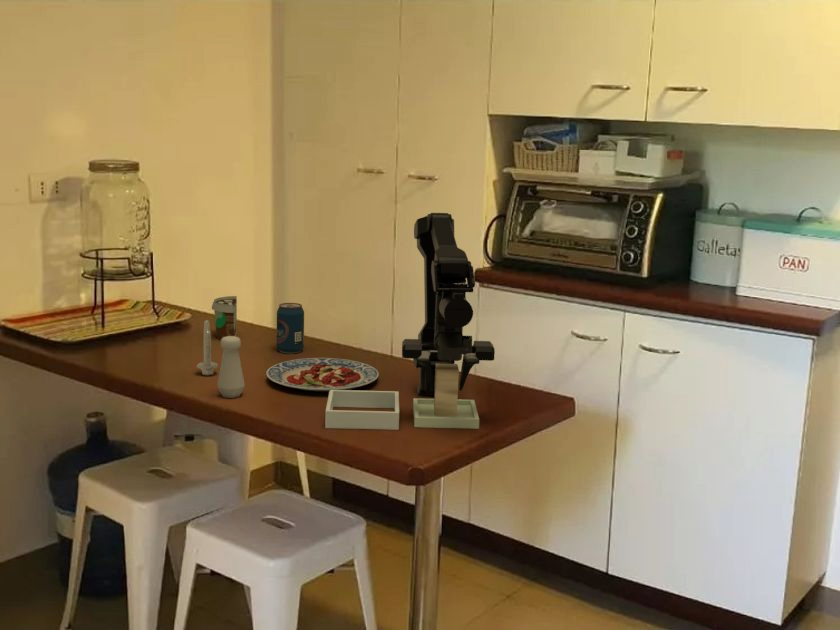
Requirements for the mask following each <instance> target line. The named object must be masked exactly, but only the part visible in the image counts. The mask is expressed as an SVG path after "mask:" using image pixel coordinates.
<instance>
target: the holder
mask: <svg viewBox="0 0 840 630" xmlns="http://www.w3.org/2000/svg"><path fill="white" fill-rule="evenodd" d="M399 393H400V392H399V391H394V390H391V391H390V390H384V391H383V390H359V389H358V390H355V389H354V390H352V389H344V390H330V391H328V396H327V397H328V398H327V403H326V406H325V407H326V408H325V420H324V421H325V424H324V425H325V426H324V428H325V429H346V430H347V429H349V430H351V429H353V430H387V431H388V430H391V431H393V430H397V431H399V429H400V397H399ZM335 407H336V408H362V409H364V408H365V409H366V408H367V409H368V408H369V409H370V408H371V409H393V410H394V411H384V410H383V411H380V410H379V411H378V410H348V409H347V410H346V409H345V410H341V409H339V410H338V409H337V410H336V409H334V408H335Z"/></svg>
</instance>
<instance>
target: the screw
mask: <svg viewBox="0 0 840 630" xmlns="http://www.w3.org/2000/svg"><path fill="white" fill-rule="evenodd" d="M210 324H211V323H210V320H208V319H206V320H204V322H203V332H202V333H203V343H202V344H203V361H202V362H201V361H200V362H199V363H197V364H196V368H197V369H200V370H201V374H202V376H211V375H214V370H215V369H217V368H218V367H219V364H218V363H217V362H214V361H212V350H211V349H212V340H211V339H212V333H211V325H210Z"/></svg>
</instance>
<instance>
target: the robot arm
mask: <svg viewBox="0 0 840 630" xmlns="http://www.w3.org/2000/svg"><path fill="white" fill-rule="evenodd" d="M413 238H414V240H416V248H417V250H418V252H419V253H420V254H421V256H422V257H423V263H424V265H423V270H424V271H423V273H424V275H423V276H424V277H423V278H424V281H423V283H424V324H423V326H422V327H421V329H420V330H419V332H418V335H417V338H405V339H404V340H402V342H401V358H402V359H413V360H412V361H413V365H414V367H415V369H419V384H417V385H416V387H417V388H416V389H417V396H418V395H419V396H434V393H435V368H436V363H437V364H456V363H455V362H459V361H461V360H462V363H461V369H460V377H459V382H458V391H460V392H462V391H463V388H464V385H465V383H466V380H467V378H468V376H469V374H470V371H471V370H472V368H473V367H474V365H479V364H480V361H488V362H489V361H495V354H496V353H495V352H496V351H495V350H496V349H495V347H494V344H493V343H492V342H491V341H489V340H474V341H473V336H472V335H464V333H463V332H464V331H463V330H464V327H466V326H467V325H469V324H470V323H471V322H472V319H473V316H474V310H473V307H472V305H471V303H470V302H469V301H468V300H467V298H466V295H467V294H466V293H474V288H475V287H476V280H475V272H474V266H473V265H472V262H471V260H469V259H468V256H467V253H466V251H465V250H463V249H461V248H459V247H458V245H457V244H458V243H457V241H456V238H455V220H454V218H452V214H451V213H448V212H431V213H427V215H425V216H423V217H419V218H417V219H416V221H415V222H414V225H413Z"/></svg>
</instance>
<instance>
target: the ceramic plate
mask: <svg viewBox="0 0 840 630" xmlns="http://www.w3.org/2000/svg"><path fill="white" fill-rule="evenodd" d="M265 372H266V376H267V378H268V379H269V380H270V381H272V382H274V383H276V384H278V385H282V386H285V387H288V388H294V389H298V390H304V391H307V392H330V390H350V389H355V388H359V387H363V386H366V385H368V384H371V383H374V382H375V381H376V380H377V379H378V377H379V371H378V369H376V368H375V367H373V366H372V365H370V364H366V363H364V362H360V361H355V360H352V359H344V358H332V357H308V358H297V359H291V360H287V361H283V362H278V363H277V364H273V365H272V366H270V367H269V368H268V369H267V370H266V371H265Z"/></svg>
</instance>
